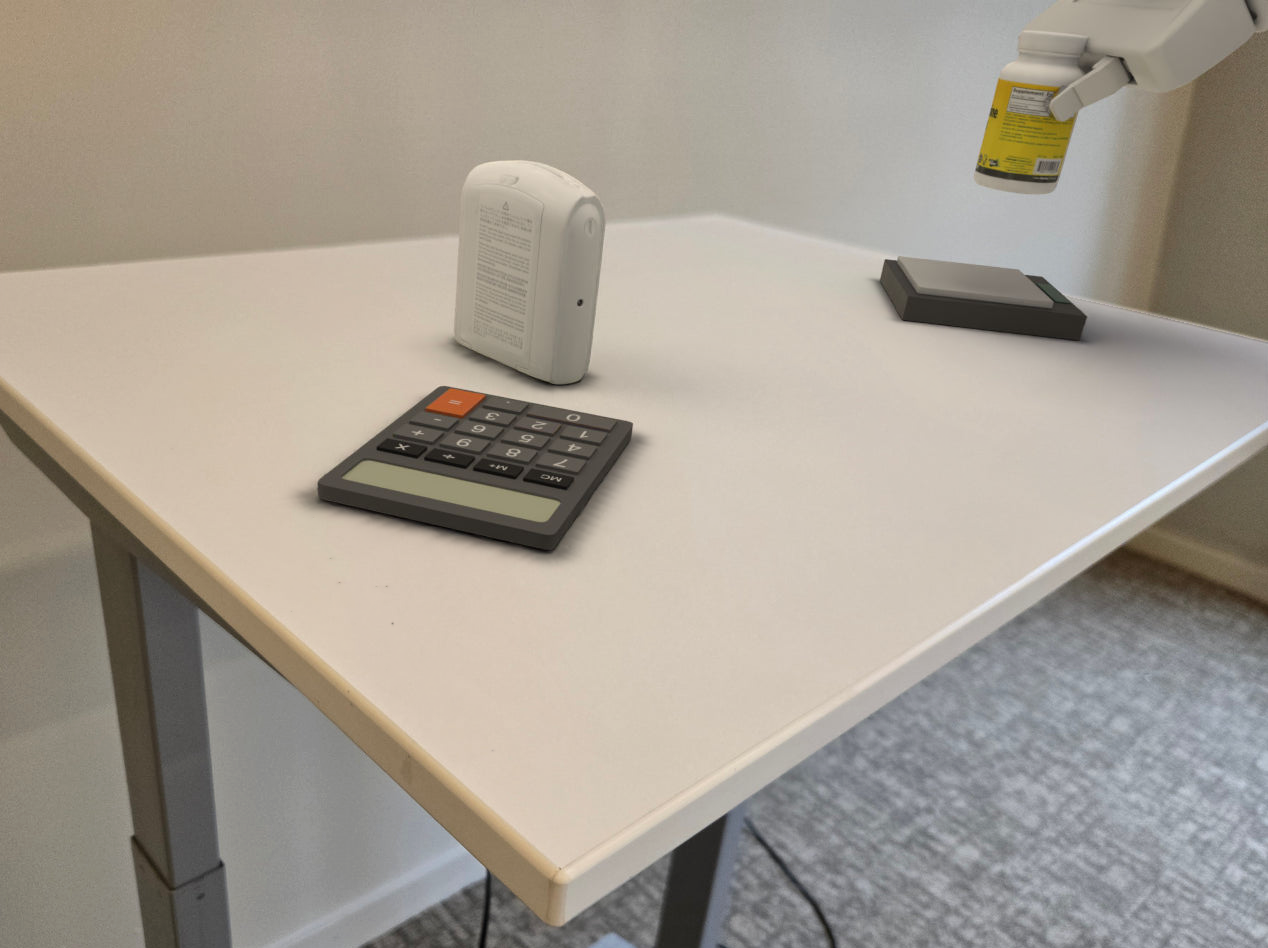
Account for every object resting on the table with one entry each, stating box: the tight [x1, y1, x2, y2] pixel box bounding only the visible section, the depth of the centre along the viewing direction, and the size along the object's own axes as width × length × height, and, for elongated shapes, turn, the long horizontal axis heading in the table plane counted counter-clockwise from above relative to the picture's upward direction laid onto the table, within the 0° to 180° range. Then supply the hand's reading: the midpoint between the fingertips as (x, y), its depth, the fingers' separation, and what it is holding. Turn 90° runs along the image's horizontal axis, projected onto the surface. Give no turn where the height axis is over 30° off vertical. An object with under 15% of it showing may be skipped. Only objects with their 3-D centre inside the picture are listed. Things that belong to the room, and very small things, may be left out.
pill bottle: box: [973, 29, 1088, 195], centre depth 82 cm, size 6×6×11 cm
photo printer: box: [453, 159, 607, 385], centre depth 67 cm, size 10×4×12 cm, turn 45°
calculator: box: [317, 385, 634, 551], centre depth 55 cm, size 12×1×15 cm
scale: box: [879, 255, 1088, 341], centre depth 91 cm, size 14×13×3 cm
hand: (1027, 107), depth 81 cm, fingers closed on pill bottle, 6 cm apart
